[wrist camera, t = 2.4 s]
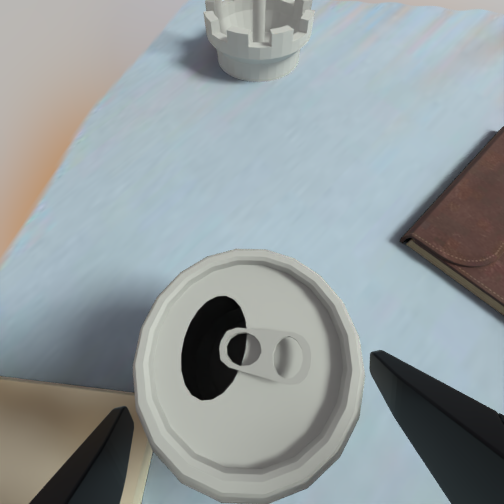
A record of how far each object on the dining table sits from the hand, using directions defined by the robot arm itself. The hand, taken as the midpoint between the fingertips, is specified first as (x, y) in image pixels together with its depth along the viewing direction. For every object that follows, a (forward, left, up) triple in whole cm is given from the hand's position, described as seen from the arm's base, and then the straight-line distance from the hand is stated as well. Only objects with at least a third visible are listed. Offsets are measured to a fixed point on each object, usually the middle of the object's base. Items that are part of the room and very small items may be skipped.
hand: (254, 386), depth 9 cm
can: (+1, 0, -9) cm, 9 cm away
